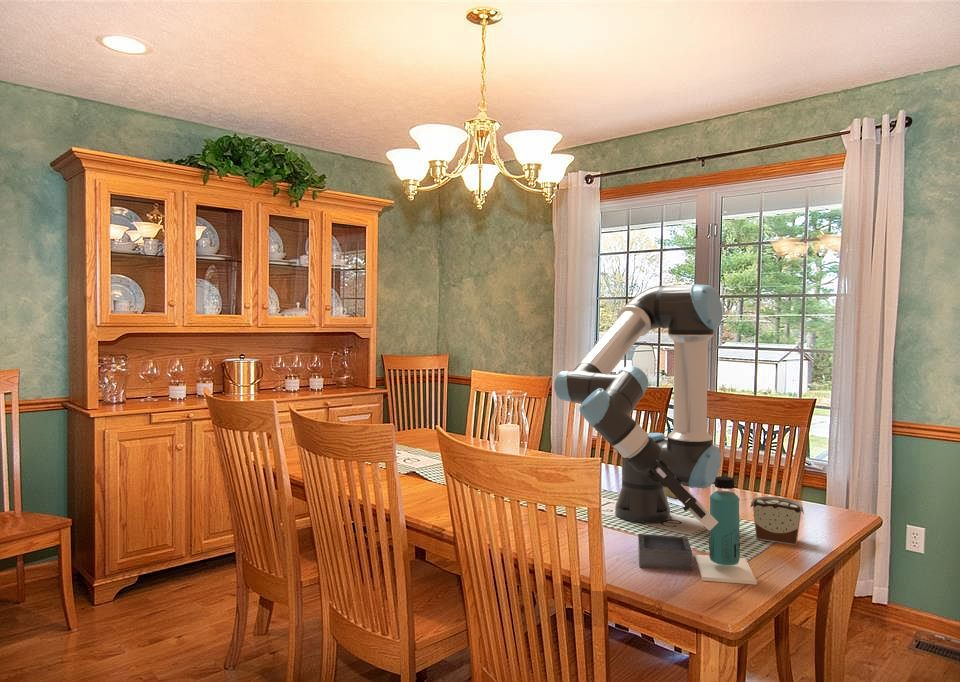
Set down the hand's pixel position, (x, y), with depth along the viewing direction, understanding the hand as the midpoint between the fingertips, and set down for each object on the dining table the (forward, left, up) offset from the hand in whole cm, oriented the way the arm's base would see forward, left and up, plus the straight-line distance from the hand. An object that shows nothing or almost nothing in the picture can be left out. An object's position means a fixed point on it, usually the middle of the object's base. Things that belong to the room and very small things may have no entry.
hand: (705, 517), depth 152 cm
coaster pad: (-1, +4, -12) cm, 13 cm away
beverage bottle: (-1, +4, -11) cm, 12 cm away
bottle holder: (-5, -8, -12) cm, 15 cm away
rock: (-66, -3, -12) cm, 67 cm away
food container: (-27, +21, -12) cm, 36 cm away
